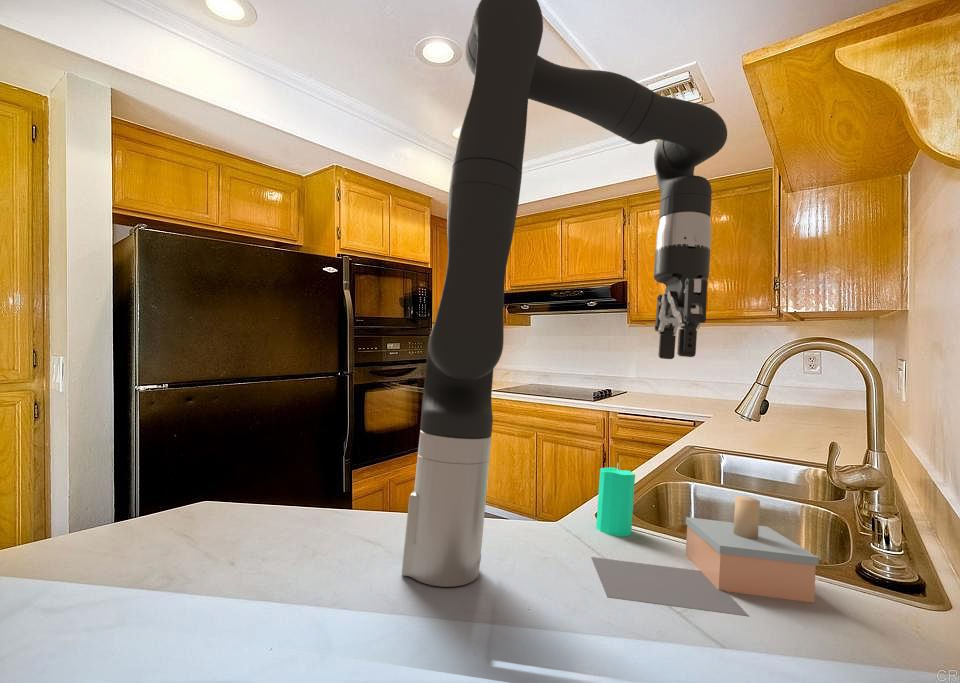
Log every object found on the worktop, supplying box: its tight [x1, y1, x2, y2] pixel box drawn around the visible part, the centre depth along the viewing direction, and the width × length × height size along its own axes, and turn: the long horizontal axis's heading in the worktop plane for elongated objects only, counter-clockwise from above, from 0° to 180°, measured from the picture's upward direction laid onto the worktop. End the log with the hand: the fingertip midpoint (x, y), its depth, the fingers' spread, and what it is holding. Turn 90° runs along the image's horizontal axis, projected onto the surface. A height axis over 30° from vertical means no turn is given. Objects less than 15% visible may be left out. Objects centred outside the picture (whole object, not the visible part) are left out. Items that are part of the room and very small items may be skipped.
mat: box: [591, 556, 750, 617], centre depth 59 cm, size 16×12×1 cm
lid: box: [685, 495, 820, 566], centre depth 64 cm, size 12×12×6 cm
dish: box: [685, 524, 817, 604], centre depth 64 cm, size 12×12×5 cm
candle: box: [595, 462, 636, 537], centre depth 79 cm, size 6×6×12 cm
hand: (675, 357), depth 67 cm, fingers open, 8 cm apart
